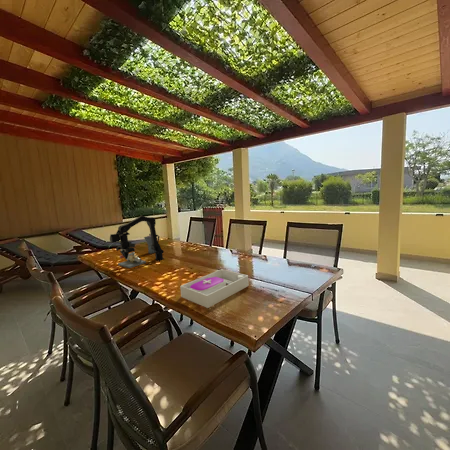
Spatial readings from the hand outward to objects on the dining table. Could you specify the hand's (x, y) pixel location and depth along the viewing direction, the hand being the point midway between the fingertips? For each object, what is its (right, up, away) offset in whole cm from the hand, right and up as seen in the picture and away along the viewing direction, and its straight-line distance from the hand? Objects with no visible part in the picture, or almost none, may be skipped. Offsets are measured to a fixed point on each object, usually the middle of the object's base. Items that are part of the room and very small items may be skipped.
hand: (126, 258), depth 199 cm
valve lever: (-2, +1, +7) cm, 7 cm away
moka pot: (+8, 0, +49) cm, 49 cm away
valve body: (+2, -4, +12) cm, 13 cm away
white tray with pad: (+77, -12, -56) cm, 96 cm away
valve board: (+1, -6, +11) cm, 12 cm away
